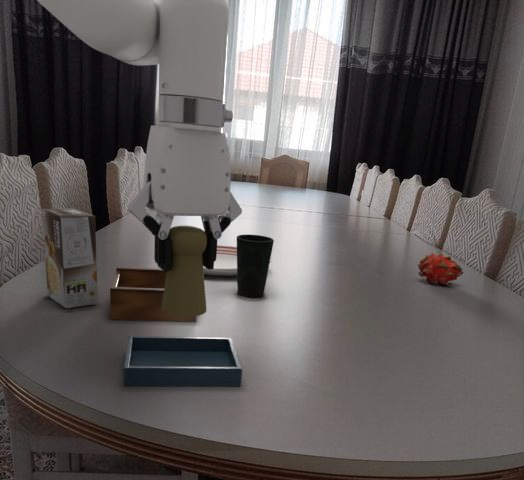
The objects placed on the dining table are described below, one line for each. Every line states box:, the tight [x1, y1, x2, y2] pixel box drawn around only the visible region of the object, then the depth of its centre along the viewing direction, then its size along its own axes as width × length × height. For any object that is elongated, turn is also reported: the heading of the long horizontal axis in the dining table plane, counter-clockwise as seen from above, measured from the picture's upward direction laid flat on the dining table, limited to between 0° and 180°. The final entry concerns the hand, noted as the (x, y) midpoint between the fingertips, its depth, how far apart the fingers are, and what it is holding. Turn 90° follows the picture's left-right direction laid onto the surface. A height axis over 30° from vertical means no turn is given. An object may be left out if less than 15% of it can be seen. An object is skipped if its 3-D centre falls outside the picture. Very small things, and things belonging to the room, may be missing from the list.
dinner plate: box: [203, 244, 272, 277], centre depth 130 cm, size 28×27×3 cm
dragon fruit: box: [417, 252, 464, 286], centre depth 135 cm, size 8×8×12 cm
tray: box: [123, 335, 243, 387], centre depth 73 cm, size 15×11×3 cm
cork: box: [161, 225, 208, 317], centre depth 68 cm, size 6×6×11 cm
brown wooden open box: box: [109, 266, 198, 323], centre depth 96 cm, size 15×15×6 cm
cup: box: [236, 234, 275, 299], centre depth 108 cm, size 8×8×12 cm
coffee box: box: [41, 207, 99, 309], centre depth 93 cm, size 9×6×16 cm
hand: (185, 266), depth 68 cm, fingers closed on cork, 5 cm apart
